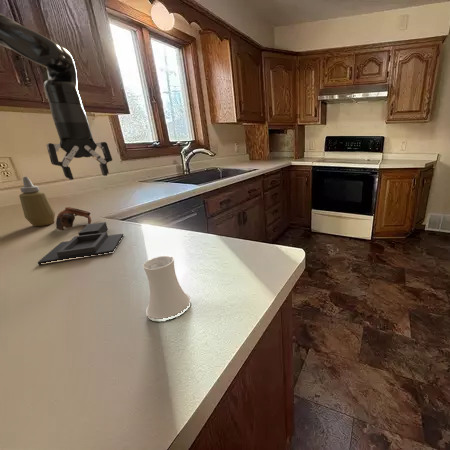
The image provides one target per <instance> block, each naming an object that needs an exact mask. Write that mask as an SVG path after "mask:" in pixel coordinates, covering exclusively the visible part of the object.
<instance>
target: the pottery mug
mask: <svg viewBox="0 0 450 450" xmlns="http://www.w3.org/2000/svg"><path fill="white" fill-rule="evenodd" d="M77 216H78V217H84V218H86V219H87V224H92V218H91V212H90V211H86V210H83V209H79V208H75V207H71V206H70V207H69V206H66V207H65V208H64V209H63V210H61V211H60V212H58V214H57V216H56V219H55V220H56V221H55V226H56V227H55V228H56V229H57V230H60V231H64V230H65V229H71V228H73V226H74V221H75V220H76V217H77Z"/></svg>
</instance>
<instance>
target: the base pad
mask: <svg viewBox="0 0 450 450" xmlns="http://www.w3.org/2000/svg"><path fill="white" fill-rule="evenodd" d="M123 235H124V233H118V234H111V235H110V234H109V235H108V231H107V232H104V233H97V234H90V235H82V236H79V235H76V236H73V237H72V238H71V239H70V240H66V241H61V242H59V243H58V245H56V246H55V247H54V248H52V249H51V250H50V251H49V252H48V253H47V254H45V255H44V256H43V257H42V258H41V259H39V260H38V261H37V264H41V263H46V262H51V261H57V260H63V259H69V258H76V257H84V256H91V255H98V254H104V253H109V252H113V251H114V249H115V248H116V246H117V245H118V243H119V241H120V240H121V238H122V237H123ZM123 238H124V237H123ZM121 241H122V240H121ZM119 244H120V243H119ZM118 246H119V245H118ZM116 249H117V248H116ZM114 252H115V251H114Z"/></svg>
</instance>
